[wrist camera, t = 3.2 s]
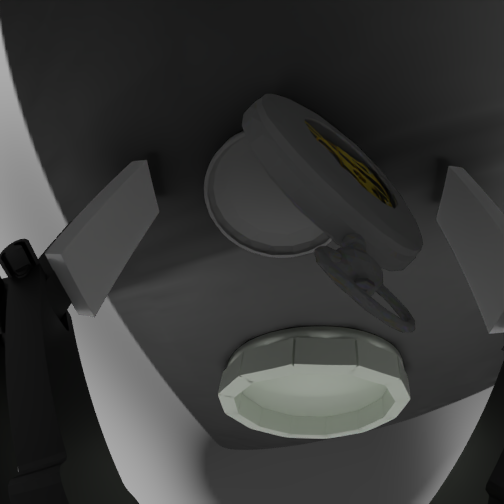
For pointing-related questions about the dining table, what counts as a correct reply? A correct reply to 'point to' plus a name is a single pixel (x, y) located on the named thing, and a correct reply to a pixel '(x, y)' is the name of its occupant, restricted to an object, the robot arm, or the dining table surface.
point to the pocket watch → (312, 202)
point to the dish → (314, 382)
